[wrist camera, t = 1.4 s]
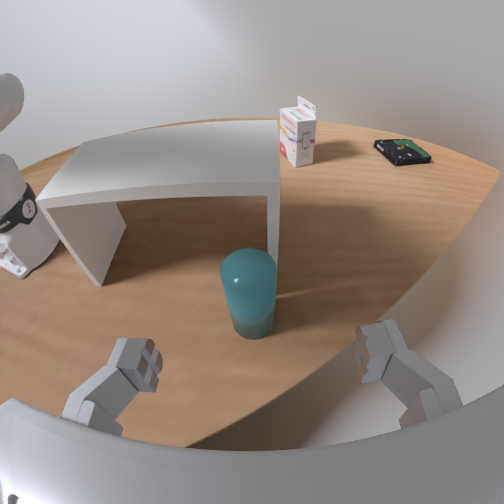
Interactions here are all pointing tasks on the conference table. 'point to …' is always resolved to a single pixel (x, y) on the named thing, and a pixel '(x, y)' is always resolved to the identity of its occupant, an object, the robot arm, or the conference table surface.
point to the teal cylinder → (250, 291)
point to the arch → (158, 181)
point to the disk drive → (402, 152)
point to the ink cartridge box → (298, 133)
